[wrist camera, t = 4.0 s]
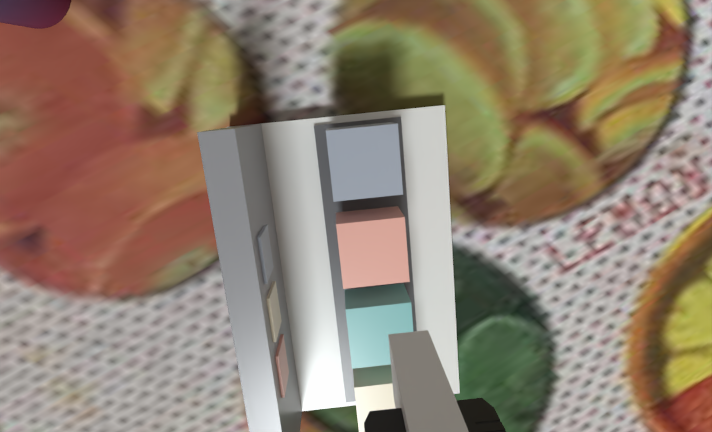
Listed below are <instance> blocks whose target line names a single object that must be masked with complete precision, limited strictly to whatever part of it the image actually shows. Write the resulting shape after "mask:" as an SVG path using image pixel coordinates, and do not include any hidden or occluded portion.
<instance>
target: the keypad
mask: <svg viewBox="0 0 712 432" xmlns="http://www.w3.org/2000/svg"><path fill="white" fill-rule="evenodd" d="M387 122H393V123H398V133H399V146H400V159H401V173H402V186H403V195H394V196H384V197H374V198H365V199H355V200H346V201H336V202H333V193H332V184H331V174H330V165H329V156H328V147H327V138H326V129H327V128H337V127H347V126H357V125H367V124H377V123H387ZM197 134H198V139H199V145H200V151H201V156H202V162H203V168H204V174H205V179H206V185H207V191H208V197H209V202H210V208H211V214H212V220H213V225H214V231H215V237H216V243H217V248H218V254H219V260H220V265H221V271H222V277H223V283H224V288H225V294H226V300H227V306H228V311H229V317H230V323H231V329H232V334H233V340H234V346H235V352H236V357H237V363H238V369H239V374H240V380H241V386H242V392H243V397H244V403H245V409H246V415H247V420H248V426H249V432H300V424H301V415H302V411H308V410H317V409H325V408H334V407H343V406H352V405H356V400H355V391H354V378H353V369H352V364H351V355H350V346H349V337H348V328H347V319H346V310H345V290H348V289H357V288H367V287H376V286H385V285H394V284H404V285H405V288H406V290H407V293H408V295H409V298H410V300H411V306H412V319H413V332H415V331H425V330H428V331H429V334H430V336H431V339H432V341H433V344H434V346H435V349H436V351H437V354H438V356H439V359H440V361H441V364H442V366H443V369H444V371H445V374H446V376H447V379H448V381H449V384H450V386H451V389H452V391H453V394H457V393H460V390H459V371H458V351H457V332H456V313H455V293H454V274H453V255H452V235H451V216H450V197H449V177H448V158H447V139H446V119H445V105H440V106H430V107H420V108H410V109H400V110H390V111H380V112H370V113H360V114H350V115H341V116H331V117H321V118H311V119H301V120H291V121H281V122H271V123H261V124H251V125H241V126H231V127H227V128H221V129H215V130H209V131H203V132H197ZM394 206H398V207H399V209H400V210H401V212H402V213H403V215H404V217H405V226H406V239H407V252H408V266H409V279H410V282H403V283H394V284H385V285H375V286H366V287H357V288H348V289H343V283H342V274H341V265H340V256H339V247H338V238H337V229H336V213H337V212H346V211H356V210H365V209H375V208H384V207H394Z"/></svg>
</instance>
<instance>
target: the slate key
mask: <svg viewBox="0 0 712 432" xmlns="http://www.w3.org/2000/svg"><path fill="white" fill-rule="evenodd" d="M326 138H327V147H328V156H329V165H330V174H331V184H332V193H333V202H336V201H346V200H355V199H365V198H374V197H384V196H394V195H403V186H402V173H401V159H400V146H399V133H398V123H393V122H387V123H377V124H367V125H357V126H347V127H337V128H327V129H326Z"/></svg>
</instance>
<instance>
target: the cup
mask: <svg viewBox="0 0 712 432" xmlns="http://www.w3.org/2000/svg"><path fill="white" fill-rule="evenodd" d="M70 2H71V0H0V22H2V23H8V24H13V25H19V26H25V27H31V28H47V27H51V26H53V25H55V24H57V23H58V22H59V21H61V20H62V19H63V17H64V16H65V15H66V13H67V11H68V9H69V6H70Z"/></svg>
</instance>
